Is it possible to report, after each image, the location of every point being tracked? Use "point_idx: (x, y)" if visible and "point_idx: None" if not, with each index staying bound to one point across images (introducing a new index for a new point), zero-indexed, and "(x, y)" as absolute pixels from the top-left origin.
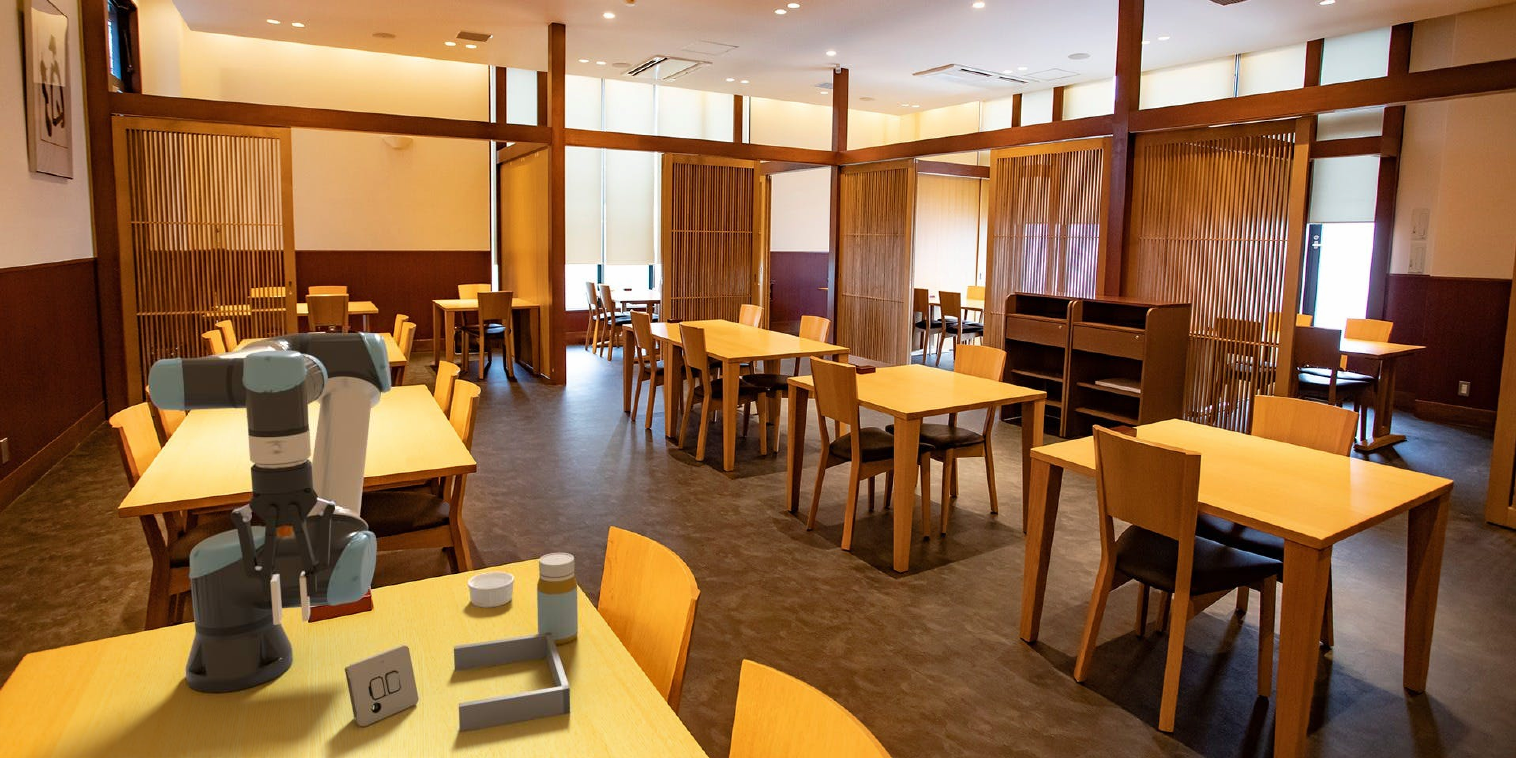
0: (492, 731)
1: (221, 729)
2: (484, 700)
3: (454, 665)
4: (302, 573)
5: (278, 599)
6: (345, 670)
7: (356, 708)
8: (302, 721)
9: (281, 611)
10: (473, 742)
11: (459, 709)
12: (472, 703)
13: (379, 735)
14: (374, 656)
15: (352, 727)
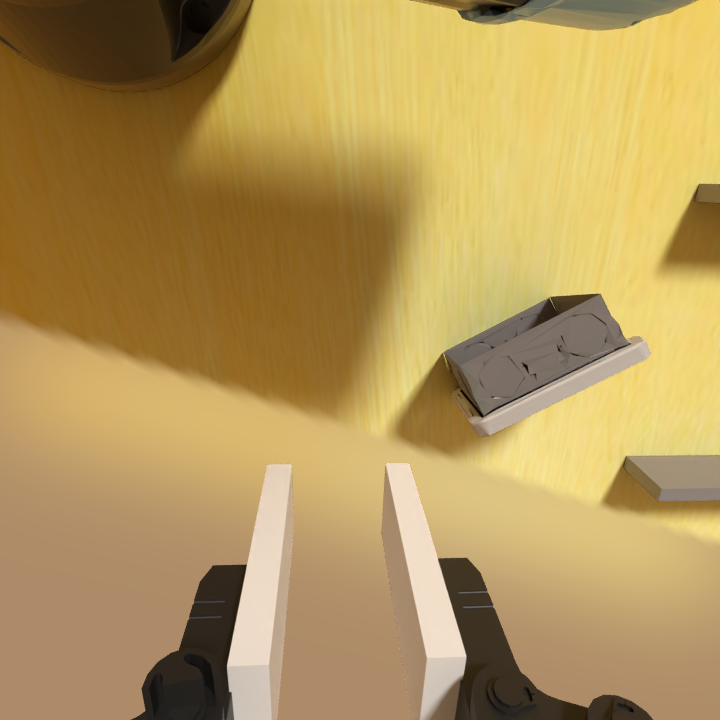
0: None
1: (161, 301)
2: (711, 494)
3: (706, 188)
4: (432, 688)
5: (284, 615)
6: (459, 368)
7: (459, 405)
8: (336, 327)
9: (290, 496)
10: (634, 503)
11: (654, 497)
12: (685, 496)
13: None
14: (551, 399)
15: (438, 387)
